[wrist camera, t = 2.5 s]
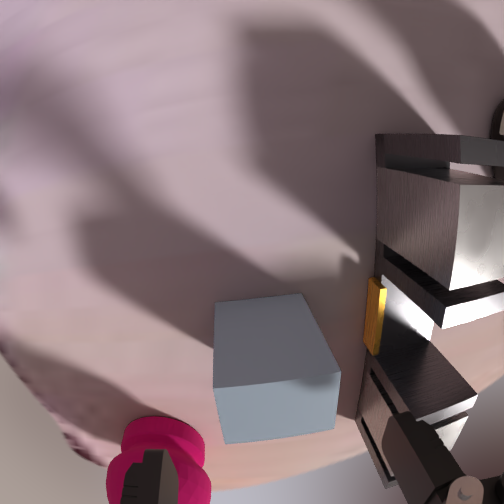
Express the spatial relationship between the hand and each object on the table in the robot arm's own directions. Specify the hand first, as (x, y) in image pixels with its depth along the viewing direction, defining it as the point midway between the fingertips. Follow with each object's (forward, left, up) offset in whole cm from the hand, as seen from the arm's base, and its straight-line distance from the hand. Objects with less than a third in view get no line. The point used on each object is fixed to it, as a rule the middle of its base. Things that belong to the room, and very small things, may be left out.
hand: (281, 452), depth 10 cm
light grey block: (0, 0, -9) cm, 9 cm away
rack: (0, +9, -9) cm, 13 cm away
